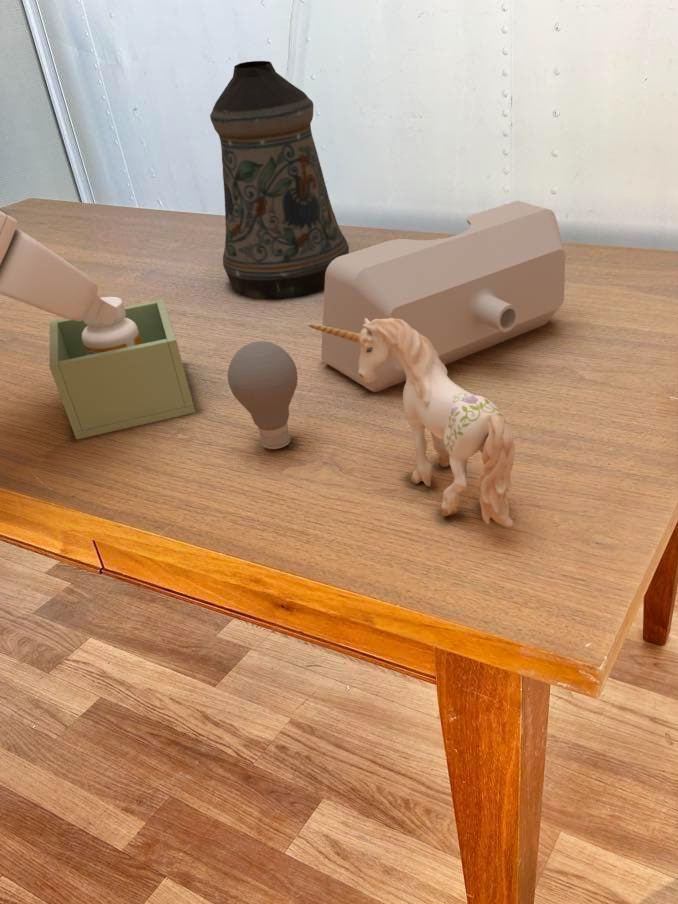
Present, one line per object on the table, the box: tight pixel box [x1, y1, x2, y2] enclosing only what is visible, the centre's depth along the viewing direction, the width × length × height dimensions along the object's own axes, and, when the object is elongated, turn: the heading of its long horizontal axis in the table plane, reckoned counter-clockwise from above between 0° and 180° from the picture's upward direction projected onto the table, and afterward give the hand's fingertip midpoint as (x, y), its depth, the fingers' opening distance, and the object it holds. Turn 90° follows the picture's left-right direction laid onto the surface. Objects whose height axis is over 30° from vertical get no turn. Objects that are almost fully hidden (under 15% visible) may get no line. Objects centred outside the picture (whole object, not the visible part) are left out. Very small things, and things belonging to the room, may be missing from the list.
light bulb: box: [227, 341, 298, 450], centre depth 75 cm, size 6×6×10 cm
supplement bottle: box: [82, 296, 142, 355], centre depth 84 cm, size 5×5×10 cm
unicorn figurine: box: [306, 318, 516, 528], centre depth 66 cm, size 7×20×13 cm, turn 46°
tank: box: [320, 200, 566, 393], centre depth 86 cm, size 25×16×12 cm, turn 125°
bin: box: [48, 298, 196, 440], centre depth 85 cm, size 12×12×8 cm
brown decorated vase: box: [209, 60, 350, 301], centre depth 106 cm, size 16×19×25 cm
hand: (88, 305), depth 80 cm, fingers open, 8 cm apart
